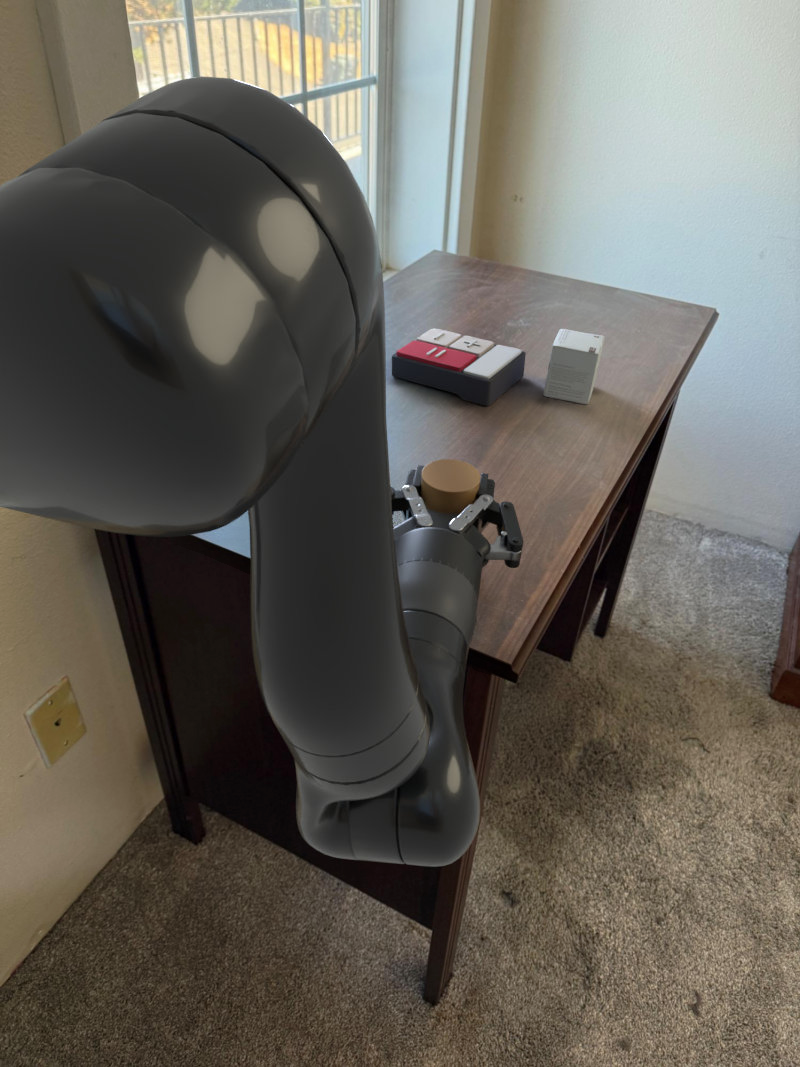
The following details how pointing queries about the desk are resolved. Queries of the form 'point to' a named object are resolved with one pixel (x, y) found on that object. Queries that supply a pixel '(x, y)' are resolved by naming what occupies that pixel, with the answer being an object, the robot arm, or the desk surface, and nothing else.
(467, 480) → the tall wooden cylinder
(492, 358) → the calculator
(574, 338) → the white cardboard box
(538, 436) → the desk surface
